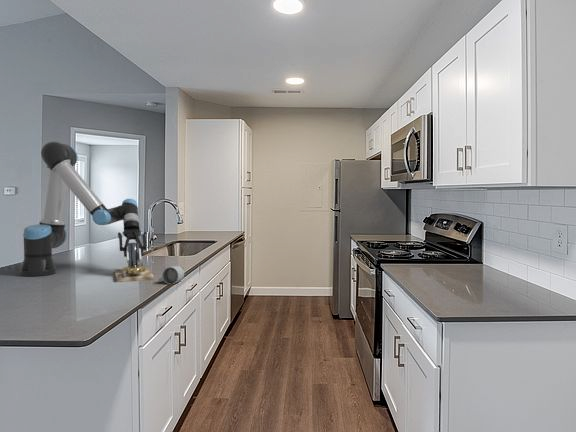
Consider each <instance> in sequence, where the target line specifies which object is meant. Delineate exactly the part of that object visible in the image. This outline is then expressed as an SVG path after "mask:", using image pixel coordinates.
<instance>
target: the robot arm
mask: <svg viewBox="0 0 576 432" xmlns="http://www.w3.org/2000/svg"><path fill="white" fill-rule="evenodd" d="M40 155H41V156H40V157H41V159H42V161H43V162H44V163H45V165H46V167H47V168H46V169H47V170H48V171H49V175H48V177H49V178H48V184H47V191H46V198H45V206H44V212H43V218H42V219H41V220H39V223H38V224H34V225H33V224H32V225H28V226H26V227H25V228H24V229H23V234H22V236H23V261H22V264H21V267H20V270H19V275H20V276H22V277H41V276H42V277H43V276H49V275H53V274H57V266H56V265H55V262H54V259H53V254H52V253H53V249H57V248H58V247H61V246H62V245H63V244H64V243H65V242H66V239H67V237H68V235H67V231H66V230H65V227H66V223H65V222H64V221H63V220H64V219H63V218H64V211H65V203H66V197H67V196H66V195H67V189H68V188H69V190H70V191H71V192H72V193H73V194H74V196H75V197H76V199H78V201H79V202H80V203H81V204H82V205H83V207H85V209H86V210H87V211H88V213H89V214H90V215H91V216H92V217H91V218H92V221H93V223H95V224H96V225H98V226H107V225H111V224H115V223H117V222H121V221H122V222H123V223H122V224H123V231H122V232H120V231H119V232H118V233H117V238H118V240H119V241H118V242H119V243H118V244H119V252H123V257H124V258H126V264H128V263H129V253H128V243H130V241H131V240H134V241H135V243H139V263H142V257H143V256H144V251H146V250H147V248H148V247H147V238H146V237H147V231H144V232H142V231H141V229H140V228H141V227H140V220H139V217H140V216H139V206H138V203H137V200H136V199H133V198H125V199H124V200H123V201H122V204H121V205H118V206H114V207H111V208H107V206H105V204H104V203H103V202H102V201H101V199H100V198H99V197H98V196H97V195H96V194H95V192H94V190H92V188H91V187H90V186H89V185H88V184H87V182H86V181H85V179H83V178H82V176H81V175H80V173H79V172H78V171H77V170H76V169H75V168H74V166H75V165H76V164H77V163H78V153H77V150H76V149H75V148H73V147H72V146H70V145H69V144H66V143H61V142H58V141H49V142H47V143H45V144H44V145H43V146H42V148H41V151H40ZM140 236H141V237H142V243H141V240H140ZM123 237H125V238H126V239H125V244H124V246H123Z"/></svg>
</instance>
